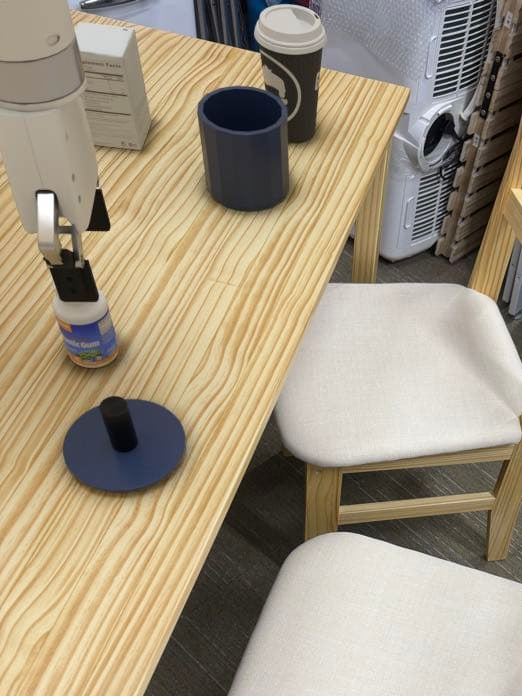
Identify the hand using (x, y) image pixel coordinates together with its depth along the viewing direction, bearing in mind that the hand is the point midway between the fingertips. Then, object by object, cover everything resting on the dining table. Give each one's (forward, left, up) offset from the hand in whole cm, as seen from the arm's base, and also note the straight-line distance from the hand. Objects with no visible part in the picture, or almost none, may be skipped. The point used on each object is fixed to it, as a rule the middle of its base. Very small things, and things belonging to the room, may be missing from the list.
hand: (87, 263), depth 70 cm
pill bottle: (-4, +6, -17) cm, 19 cm away
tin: (+12, +38, -17) cm, 43 cm away
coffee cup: (+18, +52, -17) cm, 58 cm away
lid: (+1, -8, -16) cm, 18 cm away
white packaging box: (-6, +49, -17) cm, 52 cm away
